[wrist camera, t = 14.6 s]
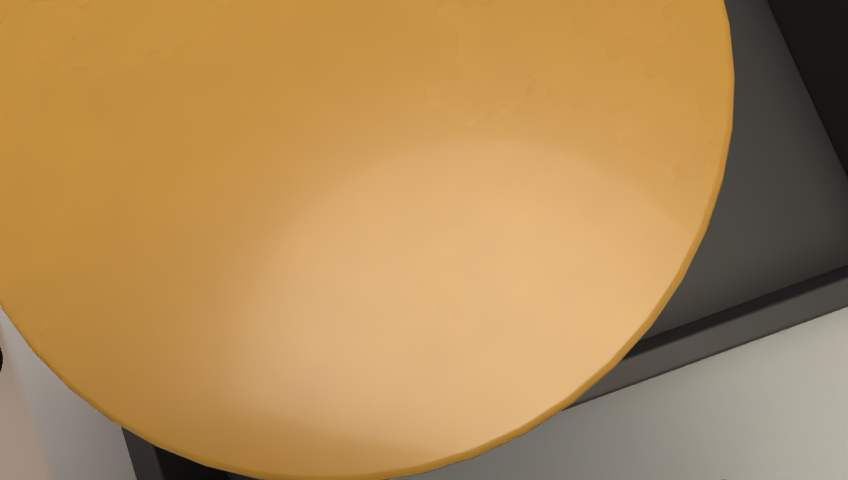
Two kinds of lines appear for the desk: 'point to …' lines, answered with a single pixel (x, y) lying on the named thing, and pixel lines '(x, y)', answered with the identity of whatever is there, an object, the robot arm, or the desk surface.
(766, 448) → the desk surface
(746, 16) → the shallow grey tray
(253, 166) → the chocolate tin
